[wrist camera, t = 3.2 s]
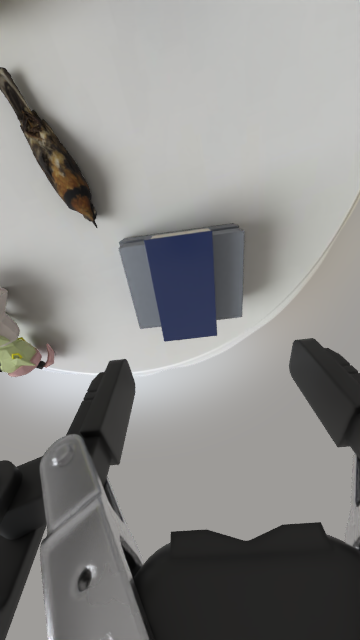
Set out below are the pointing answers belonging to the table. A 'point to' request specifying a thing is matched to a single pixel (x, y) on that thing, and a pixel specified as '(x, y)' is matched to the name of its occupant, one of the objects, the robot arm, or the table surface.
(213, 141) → the table surface
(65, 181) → the bird model
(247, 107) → the table surface
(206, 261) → the navy book
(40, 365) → the figurine
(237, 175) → the table surface
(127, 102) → the table surface
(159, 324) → the grey stack
